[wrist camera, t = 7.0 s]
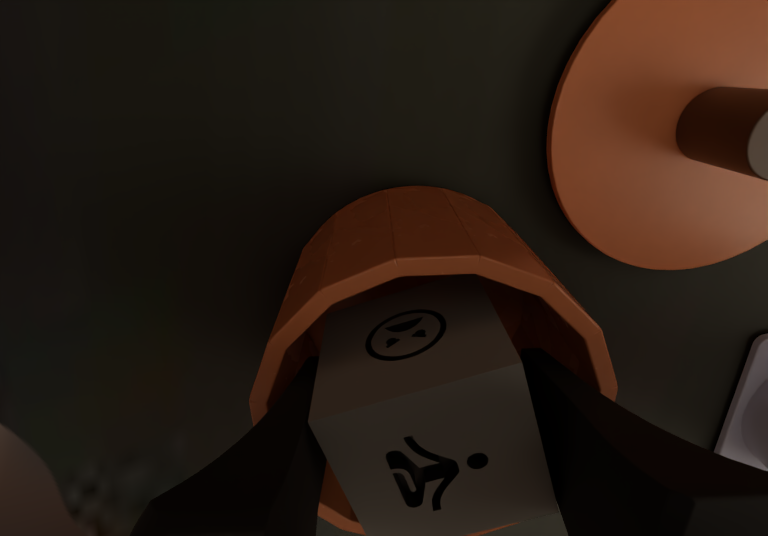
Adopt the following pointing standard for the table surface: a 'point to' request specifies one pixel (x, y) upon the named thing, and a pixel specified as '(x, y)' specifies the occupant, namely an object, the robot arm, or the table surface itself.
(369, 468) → the dice cube
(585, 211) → the lid
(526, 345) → the pot
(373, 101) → the table surface
